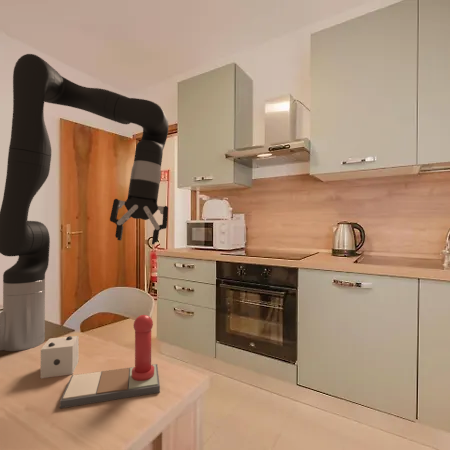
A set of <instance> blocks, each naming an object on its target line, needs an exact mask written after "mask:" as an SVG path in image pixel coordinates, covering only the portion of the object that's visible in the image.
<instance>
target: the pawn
mask: <svg viewBox="0 0 450 450" xmlns="http://www.w3.org/2000/svg"><path fill="white" fill-rule="evenodd" d="M153 326H154V321H153V319H152V317H151V316H150V315H147V314H141V315H138V316H137V317H136V318H135V320H134V322H133V329H134V366H133V367H134V368H133V369H132V379H133V380H136V381H145V380H148V379H150V378H152V377H153V376H154V366H153V365H154V364H152V329H153Z"/></svg>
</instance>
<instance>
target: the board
mask: <svg viewBox="0 0 450 450" xmlns="http://www.w3.org/2000/svg"><path fill="white" fill-rule="evenodd" d="M152 365H153V366H154V376H153V377H152V378H150V379H148V380H145V381H136V380H133V379H132V369H133V368H134V367H135V366H132V367H125V368H117V369H109V370H102V371H95V372H87V373H79V374H78V373H77V374H71V375H70V376H71V377H70V379H69V381H68V382H67V385H66V387H65V389H64V391H63V394H62V397H61V398H60V399H59V409H63V408H71V407H77V406H82V405H83V406H84V405H88V404H95V403H96V404H97V403H101V402H106V401H108V402H109V401H114V400H119V399H126V398H133V397H139V396H146V395H151V394H156V393H158V394H159V393H161V390H160V389H161V388H160V387H161V386H160V375H159V369H158V364H157V363H154V364H152Z"/></svg>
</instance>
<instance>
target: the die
mask: <svg viewBox="0 0 450 450" xmlns="http://www.w3.org/2000/svg"><path fill="white" fill-rule="evenodd" d="M79 338H80V337H79V335H73V336H71V335H68V336H63V337H53V338H52V337H50V338H49V339H48V340H47V341H46V343H45V344H44V345H43V346H42V347H41V349H40V379H47V378H53V377H62V376H71V375H74V372H75V369H76V367H77V366H78V363H79V348H80V347H79V344H80V343H79V340H80V339H79Z"/></svg>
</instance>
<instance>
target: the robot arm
mask: <svg viewBox="0 0 450 450" xmlns="http://www.w3.org/2000/svg"><path fill="white" fill-rule="evenodd" d="M12 74H13V75H12V93H13V94H12V95H13V99H12V101H13V102H12V106H13V108H12V109H13V110H12V120H11V130H10V131H11V132H10V142H9V147H8V155H7V165H6V166H7V167H6V177H5V184H4V189H3V198H2V202H1V205H0V206H1V207H0V254H1V255H2V256H5V257H17V260H16V262H15V263H14V264H13V265H12V266H10V267H9V268H7V269H6V270H5V271H4V272H3V273H2V274H3V275H2V311H1V312H0V351H5V352H17V351H18V352H19V351H25V350H30V349H33V348H36V347H38V346H40V345H42V344H44V342H45V338H46V332H45V331H46V330H45V329H46V309H45V308H46V272H47V270H48V268H49V261H50V248H51V247H50V246H51V245H50V244H51V241H50V233H49V230H48V227H47V226H46V225H45V224H44V223H43V222H41V221H37V220H28V217H29V212H30V211H29V210H30V206H31V204H32V202H33V199H34V198H35V196H36V194H38V192H39V191H40V189H41V188H42V187H43V185H44V184H45V182H46V181H47V179H48V177H49V175H50V170H51V163H52V162H51V161H52V145H51V140H50V137H49V134H48V130H47V126H46V122H45V117H44V111H45V110H44V107H45V103H48V104H53V105H60V106H65V107H71V108H75V109H77V110H78V109H79V110H82V111H85V112H87V113H88V112H89V113H91V114H93V115H97V116H99V117H102V118H105V119H107V120H110V121H113V122H115V123H118V124H121V125H122V124H123V125H130V124H135V125H137V126H138V127H141V128H142V136H141V140H139V141H138V142H137V144H136V147H135V150H134V151H135V152H134V159H133V165H132V167H131V172H130V178H129V186H128V193H127V198H126V200H121V199H118V198H115V199H113V203H112V206H111V211H110V212H111V213H110V217H109V221H110V222H112V223H113V224H115V225H116V228H115V229H116V230H115V235H114V236H115V238H117V241H122V239H123V231H124V224H126V222H127V221H128V220H130V219H131V218H133V219H134V220H139V219H140V220H144V221H147V220H149V221H150V223H151V224H152V226H153V227H154V230H153V232H152V240H151V245H155V244H156V243H157V242H158V240H159V234H160V231H162V230H165V229H167V228H168V215H169V207H168V206H167V205H163V206H161V205H158V199H159V198H158V197H159V191H160V190H159V189H160V184H161V178H162V176H161V174H162V162H163V151H164V148H165V145H166V142H167V139H168V133H169V126H170V125H169V120H168V117H167V115H166V113H165V111H164V109H163V108H162V107H161V106H160V105H159V104H157V102H156V103H155V102H154V101H152V100H148V99H144V98H135V97H127V96H126V95H123V94H119V93H117V92H114V91H112V90H108V89H103V88H98V87H88V86H87V87H86V86H84V85H80V84H78V83H75V82H73V81H71V80H69V79H67V78H65V77H64V76H63V75H61V74H60V73H59V71H57V70H56V69H55V68H54V67H52V66H51V65H50V64H49V63H48V62H47V61H45V59H44V58H42V57H40V56H38V55H36V54H33V53H26V54H23V55H22V56H20V57H19V58H18V60H16V62H15V64H14V67H13V73H12ZM123 206H125V208H126V210H127V211H125V213H124V214H123V215H122V216H121V217H120V219H118V213H119V210H120V209H122V208H123ZM157 211H159V213H160V215H162V222H161V223H162V224H158V222H157V220H156V218H155V217H154V214H156V213H157Z"/></svg>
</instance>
